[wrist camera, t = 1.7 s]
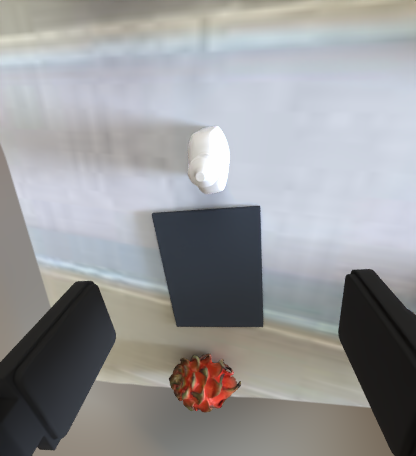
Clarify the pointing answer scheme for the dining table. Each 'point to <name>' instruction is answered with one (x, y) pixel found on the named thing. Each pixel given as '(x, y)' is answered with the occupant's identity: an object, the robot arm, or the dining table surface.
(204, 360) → the dragon fruit
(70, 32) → the dining table surface
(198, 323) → the mat
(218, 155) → the eye dropper bottle
